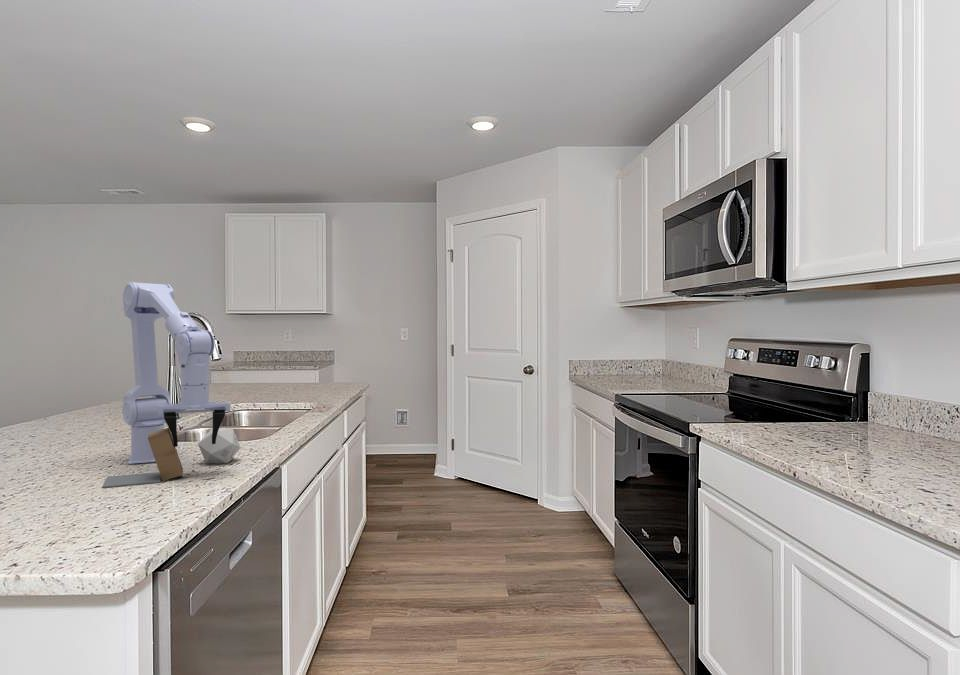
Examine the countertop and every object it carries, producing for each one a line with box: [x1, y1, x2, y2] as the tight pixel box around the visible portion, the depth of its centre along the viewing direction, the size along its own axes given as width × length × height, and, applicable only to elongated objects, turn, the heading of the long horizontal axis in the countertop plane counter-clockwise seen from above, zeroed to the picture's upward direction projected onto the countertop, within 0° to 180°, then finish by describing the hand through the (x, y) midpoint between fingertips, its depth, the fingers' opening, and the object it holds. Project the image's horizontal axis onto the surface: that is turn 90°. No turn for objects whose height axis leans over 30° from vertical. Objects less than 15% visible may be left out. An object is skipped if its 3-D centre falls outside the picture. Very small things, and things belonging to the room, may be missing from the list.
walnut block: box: [148, 426, 184, 482], centre depth 131 cm, size 6×4×10 cm, turn 26°
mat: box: [101, 471, 162, 489], centre depth 128 cm, size 9×11×1 cm
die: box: [197, 428, 241, 464], centre depth 146 cm, size 8×9×10 cm
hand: (195, 444), depth 133 cm, fingers open, 7 cm apart
